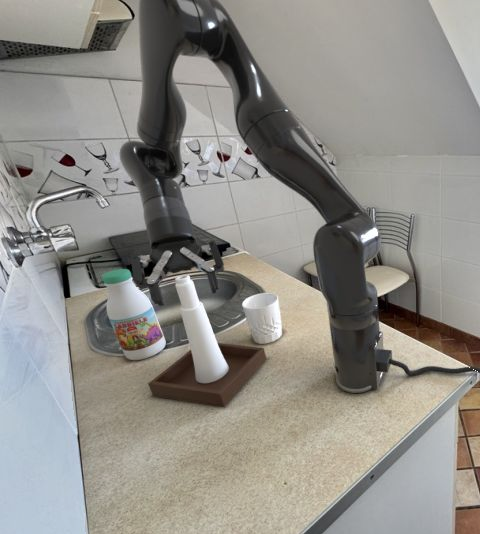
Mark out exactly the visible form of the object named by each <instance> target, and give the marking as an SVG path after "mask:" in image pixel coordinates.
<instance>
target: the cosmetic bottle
mask: <svg viewBox="0 0 480 534" xmlns="http://www.w3.org/2000/svg"><path fill="white" fill-rule="evenodd" d="M174 280H175V285H174V286H175V289H176V292H177V295H178V299H179V301H180V305H181V307H180V308H179V310H180V314H181V319H182V322H183V326H184V329H185V333H186V337H187V340H188V344H189V348H190V350H191V352H192V356H193V361H194V367H195V375H196V380H197V382H199V383H211V382H215V381H217V380H219V379H221V378H222V377H224V376H225V375H226V374H227V372H228V370H229V366H228V364H227V363H226V361H225V359H224V357H223V355H222V353H221V351H220V348H219V346H218V344H217V343H218V341H217V338H216V336H215V333H214V331H213V328H212V325H211V322H210V320H209V316H208V314H207V311H206V309H205V306H204V304H203V302H202V301H200V299H199V296H198V292H197V289H196V286H195V283H194V281H193V279H191V276H190V275H189V274H184V275H179V276H177V277H175V278H174Z"/></svg>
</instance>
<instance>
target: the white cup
mask: <svg viewBox="0 0 480 534" xmlns="http://www.w3.org/2000/svg"><path fill="white" fill-rule="evenodd" d="M241 306H242V310H243V313H244V316H245V320H246V322H247V326H248V328H249V329H248V330H249V331H250V333H251V337H252V340H253V341H254V343H256V344H260V345H263V344H266V345H267V344H270V343H274V342H275V341H277V340H279V339H280V338H281V337H282V335H283V328H282V317H281V309H280V302H279V296H278V295H277V294H275V293H272V292H261V293H257V294H253V295H250V296H249V297H246V298H245V299H244V300H243V301H242V303H241Z"/></svg>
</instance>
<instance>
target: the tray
mask: <svg viewBox="0 0 480 534" xmlns="http://www.w3.org/2000/svg"><path fill="white" fill-rule="evenodd" d="M217 344H218V346H219V348H220V351H221V353H222V355H223V357H224V359H225V361H226V363H227V364H228V366H229V370H228V372H227V374H226V375H225V376H224V377H222V378H221V379H219V380H217V381H215V382H211V383H199V382H197V380H196V375H195V367H194V361H193V356H192V352H191V349H190V350H188V352H186V353H185V354H184V355H182V356H181V357H180V358H178V359H177V360H176V361H175V362H173V363H172V364H171V365H170V366H167V368H166V369H164V370H163V371H162V372H161V373H159V374H158V375H157V376H156V377H154V378H153V379H151V381H149V382H148V383H147V385H148V387H149V390H150V392H151V394H152V396H153V397H158V398H164V399H171V400H177V401H182V402H183V401H184V402H190V403H197V404H203V405H210V406H211V405H212V406H216V407H223V408H224V407H226V406H227V404H228V403H229V402H230V401H231V400H232V399H233V398H234V397H235V395H236V394H237V393H238V392H239V391H240V390H241V389H242V388H243V386H244V385H245V384H246V383H247V382H248V381H249V380H250V379H251V377H252V376H253V375H254V374H255V373H256V372H257V371H258V370H259V369H260V368H261V366H262V365H263V364H264V363H265V362H266V361H267V356H266V352H265V347H259V346H249V345H242V344H241V345H240V344H232V343H231V344H230V343H223V342H217Z"/></svg>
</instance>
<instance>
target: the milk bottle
mask: <svg viewBox="0 0 480 534" xmlns="http://www.w3.org/2000/svg"><path fill="white" fill-rule="evenodd" d="M101 279H102V281H103V283H104V286H105V287H106V288H107V300H106V315H107V317H108V319H109V322H110V326H111V327H112V330H113V332H114V334H115V337H116V338H117V341H118V343H119V346H120V348H121V349H122V353H123V354H124V357H125V358H126V359H128V360H130V361H141V360H144V359H145V360H146V359H148V358H151V357H153V356H155V355H157V354H158V353H160V352H162V351H163V350H164V348H165V347H166V345H167V341H166V337H165V336H164V332H163V330H162V327H161V324H160V322H159V319H158V317H157V314H156V311H155V310H154V307H153V304H152V303H151V301H150V300H151V299H149V297H148V296H147V295H146V294H145V293H144V292H143V291H142V290H140V288H138V286H137V285H136V284H135V283H134V281H133V276H132V273H131V271H130V269H128V268H119V269H114V270H110V271H107V272H105V273H103V274H102V275H101Z"/></svg>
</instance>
